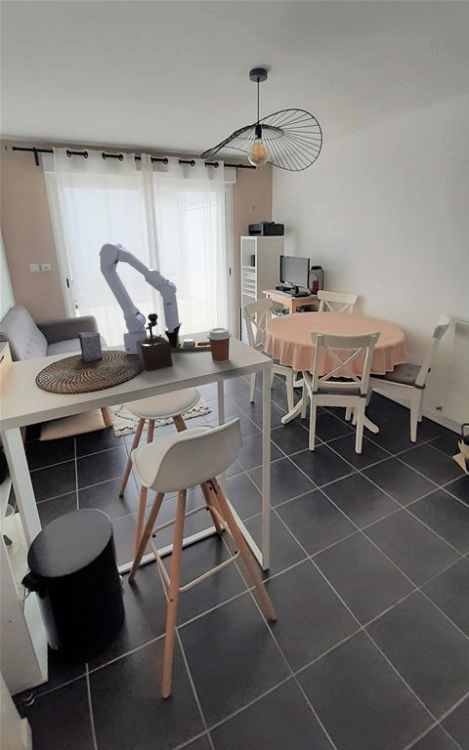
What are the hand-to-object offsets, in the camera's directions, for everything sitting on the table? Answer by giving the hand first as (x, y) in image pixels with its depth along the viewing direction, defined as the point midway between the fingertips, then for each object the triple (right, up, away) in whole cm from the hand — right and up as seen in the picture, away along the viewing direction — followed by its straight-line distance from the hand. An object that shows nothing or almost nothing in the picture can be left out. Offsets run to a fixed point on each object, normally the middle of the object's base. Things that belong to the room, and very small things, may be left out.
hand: (174, 344), depth 152 cm
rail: (+6, -2, +1) cm, 7 cm away
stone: (-32, -6, -5) cm, 33 cm away
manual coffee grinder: (-6, -8, -13) cm, 17 cm away
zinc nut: (+6, -2, +1) cm, 7 cm away
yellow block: (0, -2, +1) cm, 2 cm away
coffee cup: (+20, -7, -14) cm, 25 cm away
